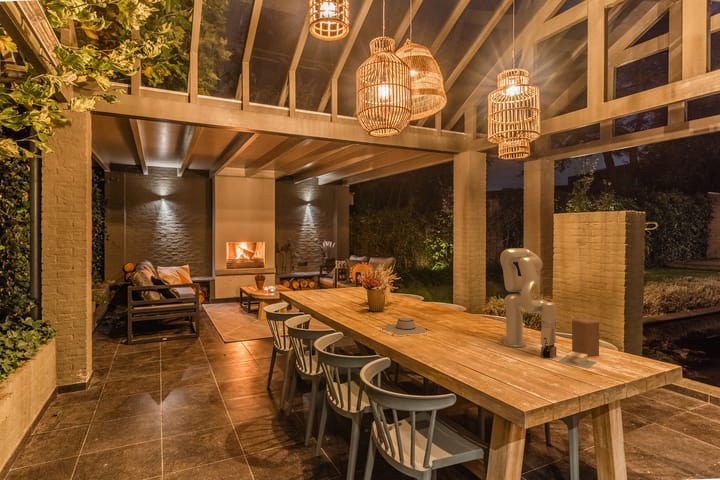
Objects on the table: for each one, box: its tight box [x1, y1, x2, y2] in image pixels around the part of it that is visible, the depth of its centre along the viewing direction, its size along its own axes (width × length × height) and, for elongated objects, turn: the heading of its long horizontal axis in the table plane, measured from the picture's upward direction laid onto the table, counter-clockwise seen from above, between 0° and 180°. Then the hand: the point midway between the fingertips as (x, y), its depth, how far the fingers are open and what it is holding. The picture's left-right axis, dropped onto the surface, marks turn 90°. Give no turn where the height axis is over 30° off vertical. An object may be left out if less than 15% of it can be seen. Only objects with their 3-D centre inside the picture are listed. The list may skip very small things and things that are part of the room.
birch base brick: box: [565, 350, 589, 365], centre depth 210 cm, size 8×8×4 cm
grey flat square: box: [557, 356, 597, 370], centre depth 210 cm, size 15×15×1 cm
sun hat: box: [381, 317, 427, 335], centre depth 288 cm, size 36×36×9 cm
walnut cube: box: [540, 345, 557, 359], centre depth 221 cm, size 6×6×6 cm
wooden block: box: [571, 317, 600, 358], centre depth 225 cm, size 10×10×20 cm
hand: (548, 356), depth 221 cm, fingers closed on walnut cube, 6 cm apart
